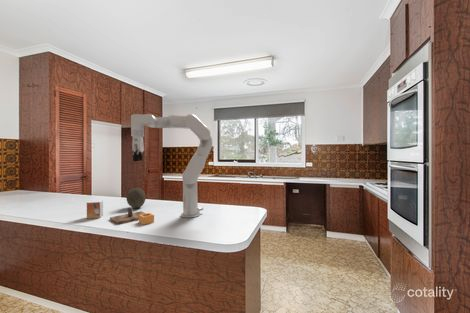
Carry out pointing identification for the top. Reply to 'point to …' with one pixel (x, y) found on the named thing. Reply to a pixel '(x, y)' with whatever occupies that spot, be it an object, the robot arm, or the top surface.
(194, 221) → the top surface
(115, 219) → the board
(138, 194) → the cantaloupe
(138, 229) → the top surface
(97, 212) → the small box
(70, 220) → the top surface
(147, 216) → the orange square ring
